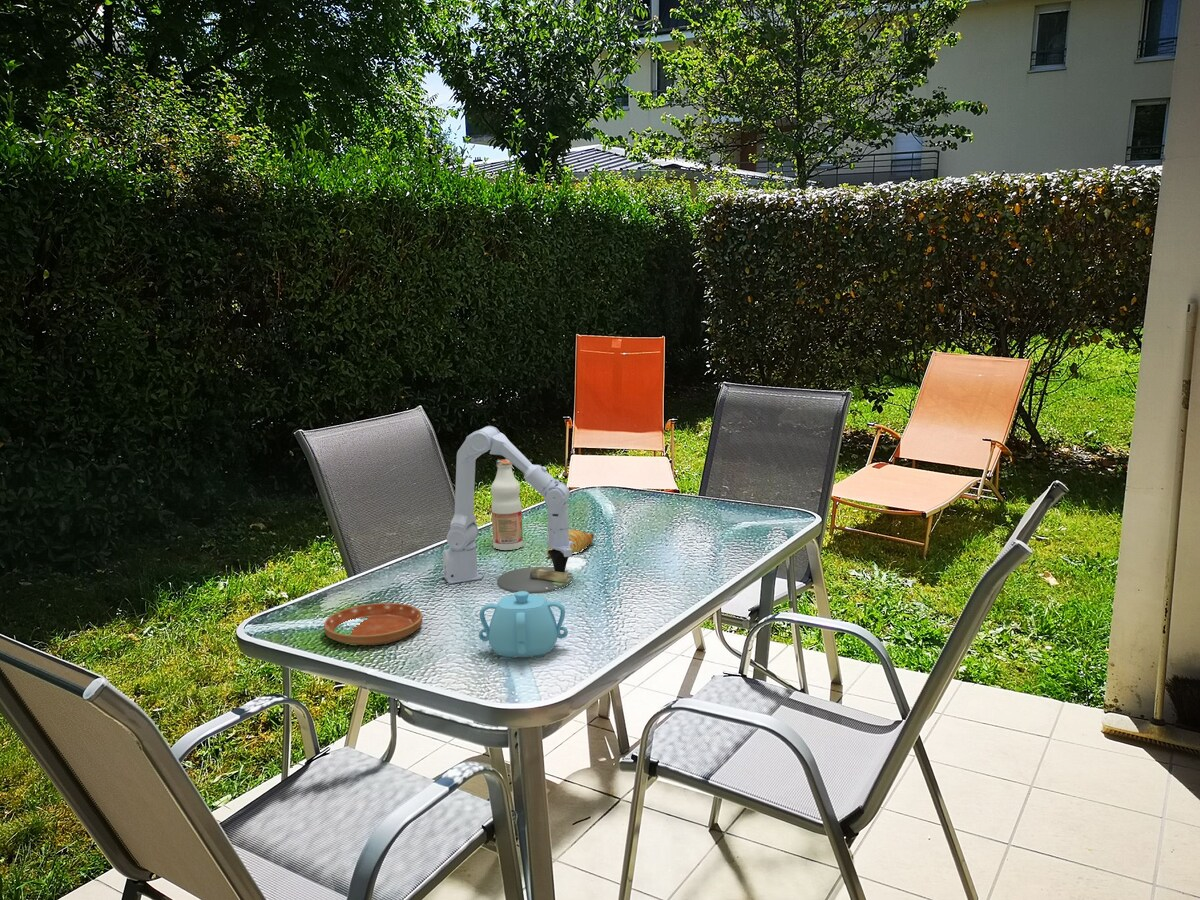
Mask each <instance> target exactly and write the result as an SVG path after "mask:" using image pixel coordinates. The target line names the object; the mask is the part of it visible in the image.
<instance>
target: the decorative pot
mask: <svg viewBox="0 0 1200 900" xmlns="http://www.w3.org/2000/svg"><path fill="white" fill-rule="evenodd" d="M551 607H556V608H558V609H559V610H560V615H559V619H558V622H557V620H556V617H555V615H554V611H553V610H552V608H551ZM489 609H490V610H491V609H492V610H494V611H493V614H492V616H491V619H490V623H489V624H488V621H487V620H486V617H485V611H487V610H489ZM565 617H566V608H565V606H564V605H563V604H562V603H561V602H559V601H556V600H552V601H551V600H550V601H548V600H547V599H546V597H545V596H543V595H540V594H534V593H528V592H526V591H519V592H514V594H511V595H506V596H503V597H501V598H500V599H499V600H498V602H497V603H490V602H489V603H487V604H485V605H483V606H482V607H481V609H480V611H479V619H480V621H481V624H482V627H483V628H482V629H481V630H479V632H478V638H479V639H480V640H481V641H482V642H488V643H489V646H490V648H491V649H492V650H493V651H494V653H495V654H496V655H499V656H502V658H503V659H506V660H511V659H514V658H524V657H525V658H527V657H528V658H529V657H532V658H535V659H538V658H542V657H544V655H545V654H548V653H549V652H551V651H552V650H553V648H554V646H555V645H556V643H557V641H558V639H560V640H562V639H565V638H566V637H567V636H568V634H569V633H568V632H569V631H568V629H567V627H565V626H563V623H564V621H565ZM561 631H563V633H561ZM484 633H485V634H486V635H484Z"/></svg>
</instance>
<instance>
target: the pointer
mask: <svg viewBox="0 0 1200 900" xmlns="http://www.w3.org/2000/svg"><path fill="white" fill-rule="evenodd" d="M539 567H540V566H532V568H530V578H539V579H546V580H552V581H559V582H566V581H567V573H564V572H557V571H550V570H544V569H540V568H539Z"/></svg>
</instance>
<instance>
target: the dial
mask: <svg viewBox="0 0 1200 900" xmlns="http://www.w3.org/2000/svg"><path fill="white" fill-rule="evenodd" d="M532 567H533V566H532ZM532 567H531V566H530V567H528V566H527V567H521V568H517V569H512V570H509V571H507V572H504V573H502V574H500V575H499V576H498V577H497V581H496V583H497V586H498V587H499V588H500V589H502V590H504V591H507V592H512V593H516V592H519V591H526V592H528V593H529V594H541V593H543V592H544V593H549V592H548V591H550V592H553V591H552V590H555V589H559V588H562V587H564V586H566V585H567V584H569V583H570V582H571V581H572V579H573V580H574V575H573V574H572V573H571V572H570V571H568V570H566V569H565V573H567V581H566V582H559V581H552V580H546V579H539V578H530V568H532ZM538 567H539V568H540V569H544V570H550V571H555V570H554V566H553V567H550V566H538ZM572 582H573V581H572ZM566 587H567V586H566ZM564 588H565V587H564ZM562 589H563V588H562ZM559 590H560V589H559ZM555 591H556V590H555ZM544 593H543V594H544Z"/></svg>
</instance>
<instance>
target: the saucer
mask: <svg viewBox="0 0 1200 900" xmlns="http://www.w3.org/2000/svg"><path fill="white" fill-rule="evenodd" d="M365 617H369V618H368V619H367V620H364V621H363V622H361V623H360V625H356V626H357V627H354V628H353V629H354V630H352V633H351V634H352V635H344V634H339V633H336V632H334V629H335V628H336V627H337V626H338V625H339V624H341V623H343V622H345V621H348V620H350V619H351V620H352V619H356V618H365ZM422 624H423V612H422V611H421V610H420V609H418V608H417V607H415V606H412V605H408V604H404V603H395V602H394V603H393V602H381V603H380V602H379V603H377V602H376V603H366V604H361V605H356V606H352V607H348V608H345V609H343V610H339V611H337V612H335V613H333V614H332V615H330V616H329V617H328V618H326V620H325V621H324V623H323V628H324V634H325V635H326V637H328V638H329V639H331V640H334V641H336V642H338V641H339V643H340V642H344V643H349V644H356V645H372V646H379V645H378V644H380V645H385V643H386V644H389V643H394V642H396V641H400V640H402V639H404V638H407V637H408V636H410V635H411V634H413V633H414V632H416V631H417V630H418V629H419V628H420V627H421V626H422Z"/></svg>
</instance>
